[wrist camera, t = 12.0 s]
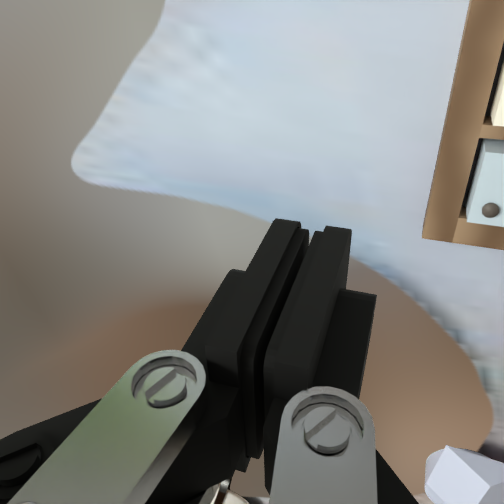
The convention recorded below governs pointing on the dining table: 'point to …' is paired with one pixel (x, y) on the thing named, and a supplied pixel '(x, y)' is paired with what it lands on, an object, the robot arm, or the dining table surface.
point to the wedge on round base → (463, 477)
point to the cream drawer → (498, 101)
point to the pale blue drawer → (487, 185)
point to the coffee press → (227, 495)
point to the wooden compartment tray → (467, 130)
